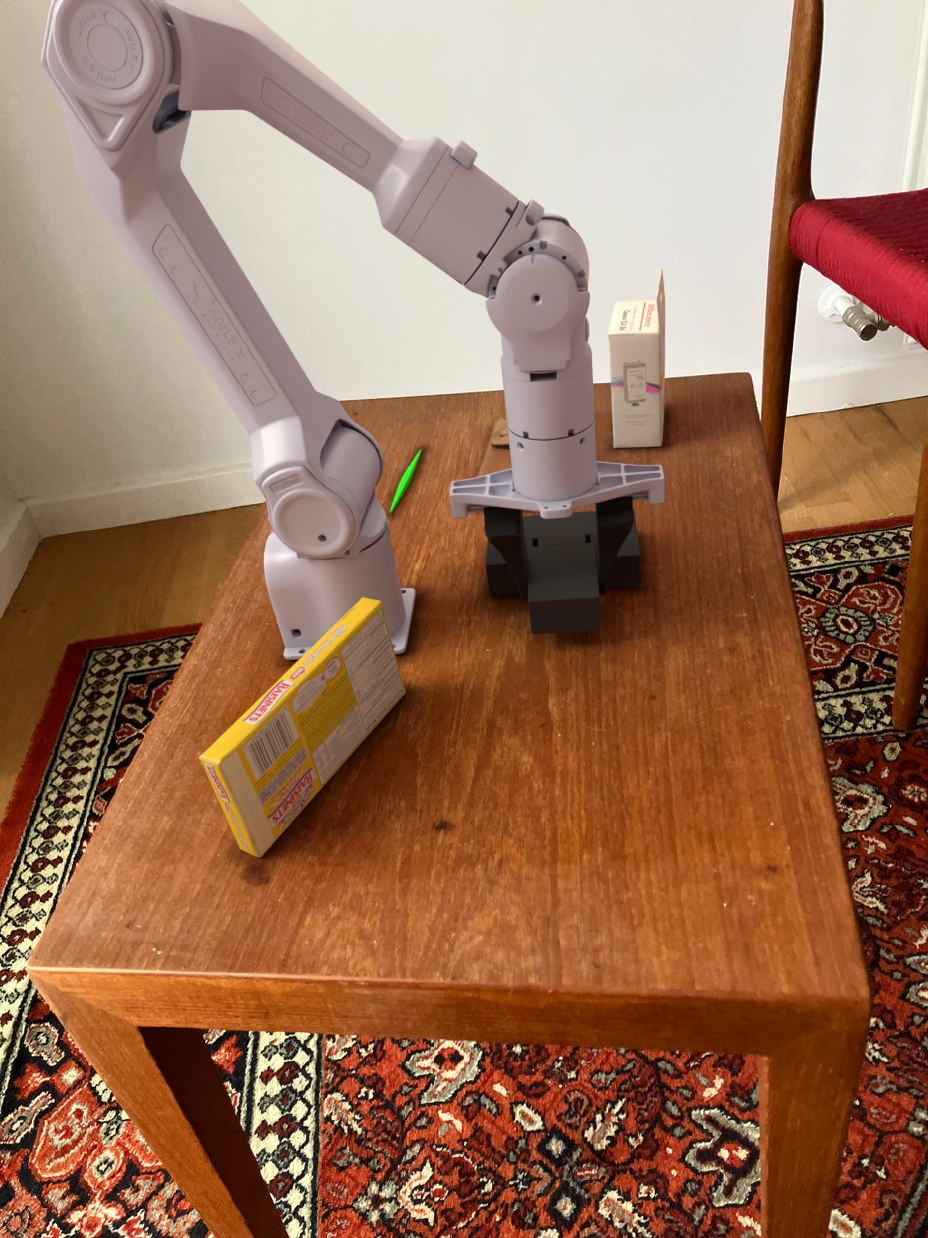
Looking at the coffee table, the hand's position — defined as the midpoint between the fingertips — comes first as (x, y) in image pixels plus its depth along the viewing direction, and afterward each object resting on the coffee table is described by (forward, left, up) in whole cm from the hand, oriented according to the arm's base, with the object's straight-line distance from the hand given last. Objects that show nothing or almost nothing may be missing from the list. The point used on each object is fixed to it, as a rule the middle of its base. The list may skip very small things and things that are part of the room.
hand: (563, 588), depth 70 cm
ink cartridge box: (+8, +31, -3) cm, 32 cm away
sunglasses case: (-4, +26, -3) cm, 26 cm away
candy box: (-16, -14, -3) cm, 22 cm away
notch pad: (0, +8, -3) cm, 8 cm away
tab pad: (0, +2, -1) cm, 2 cm away
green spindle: (-15, +24, -4) cm, 29 cm away
